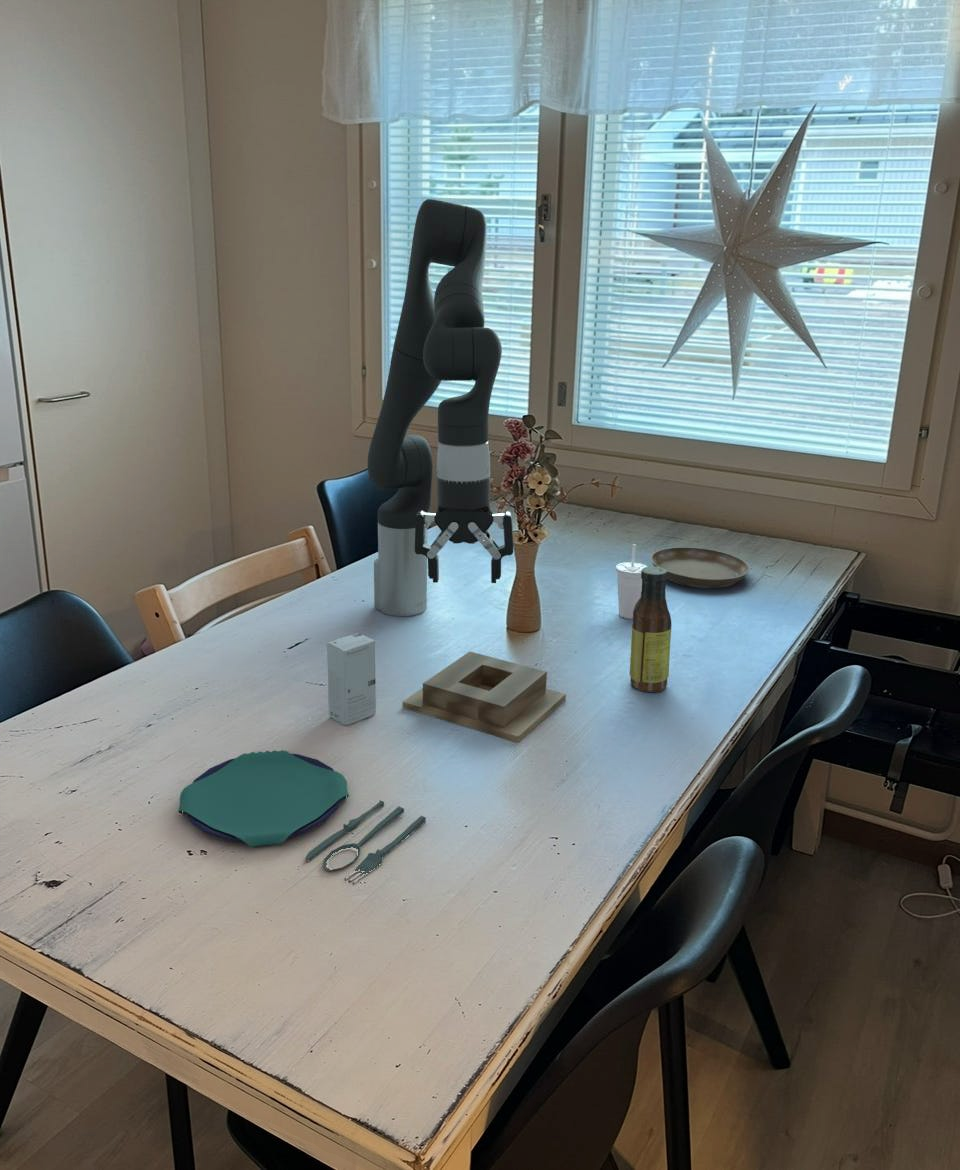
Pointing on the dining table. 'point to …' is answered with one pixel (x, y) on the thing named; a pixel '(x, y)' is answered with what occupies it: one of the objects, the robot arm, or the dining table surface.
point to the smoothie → (629, 585)
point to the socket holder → (488, 696)
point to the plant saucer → (700, 567)
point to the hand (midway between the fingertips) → (464, 581)
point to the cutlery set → (277, 803)
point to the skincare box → (351, 678)
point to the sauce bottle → (651, 633)
